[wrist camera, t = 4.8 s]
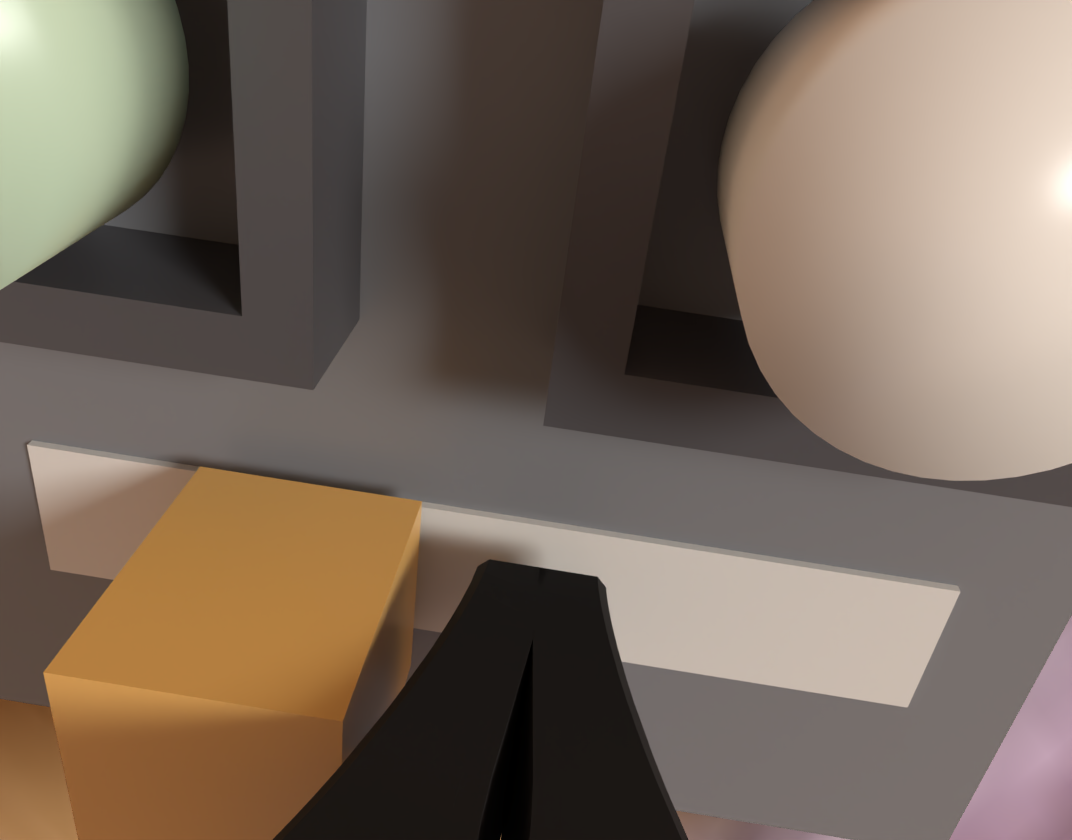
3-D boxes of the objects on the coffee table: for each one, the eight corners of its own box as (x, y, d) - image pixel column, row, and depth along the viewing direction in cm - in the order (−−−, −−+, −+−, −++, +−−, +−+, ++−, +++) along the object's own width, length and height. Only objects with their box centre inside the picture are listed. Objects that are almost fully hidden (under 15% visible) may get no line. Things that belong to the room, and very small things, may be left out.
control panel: (897, 710, 15) (975, 968, 11) (23, 569, 15) (-163, 776, 11) (1312, -213, 8) (1771, -275, 5) (-181, -409, 9) (-708, -592, 5)
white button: (1051, 383, 8) (1154, 513, 6) (680, 327, 8) (691, 441, 6) (1237, -26, 6) (1441, 9, 4) (770, -88, 6) (815, -77, 5)
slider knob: (410, 664, 11) (339, 903, 8) (213, 632, 11) (82, 860, 9) (422, 501, 10) (342, 721, 7) (200, 466, 10) (43, 672, 7)
